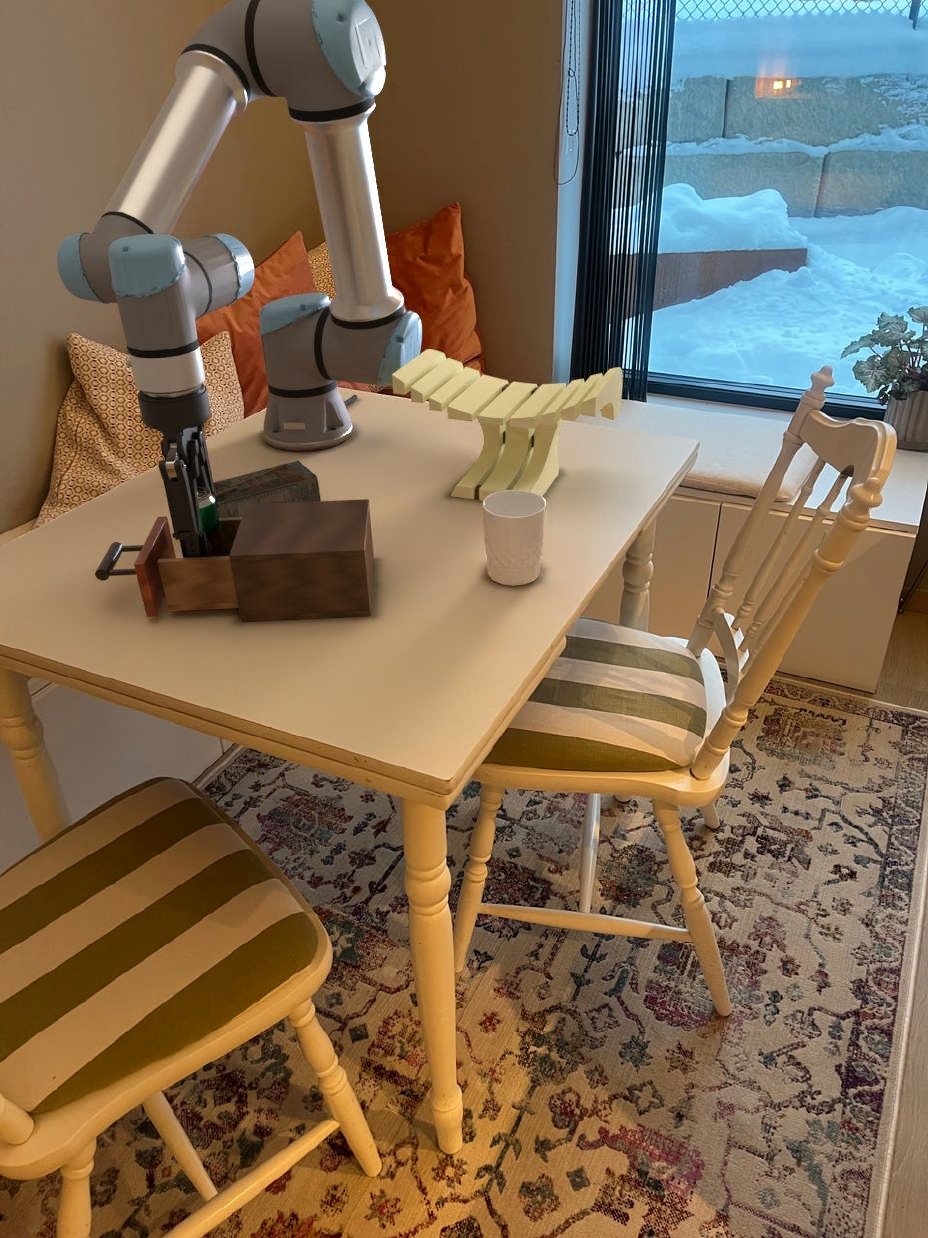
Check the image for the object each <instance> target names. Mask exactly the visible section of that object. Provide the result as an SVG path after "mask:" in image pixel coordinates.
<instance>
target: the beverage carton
mask: <svg viewBox="0 0 928 1238" xmlns="http://www.w3.org/2000/svg"><path fill="white" fill-rule="evenodd" d="M213 483H214V489H215V492H216V494H215V499H216V500H219V502H220V506H219V508H217V510H218V516H219V518H230V517H242V516H243V513H244V510H245V507H246V505H247V504H269V503H293V502H316V501H322V497H321V491H320V485H319V478H318V476H317V474H315V473H314V472H312V470H310V469H309V468H308V467H307V466H305V465H304V464H303V463H302V462H300V460H295V461H292V462H287V463H282V464H279V465H276V466H272V467H267V468H264V469H260V470H257V471H252V472H249V473H245V474H244V473H243V474H241V475H238V476H233V477H230V478H225V479H221V480H217V481H213Z"/></svg>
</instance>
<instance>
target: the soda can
mask: <svg viewBox="0 0 928 1238" xmlns="http://www.w3.org/2000/svg"><path fill="white" fill-rule="evenodd" d="M197 494H198V502H199V510H200V518H201V527H202V531H203V532H205V534H206V539H207V544H208V549H209V555H210V557H217V556H226V554H225V549H224V543H223V538H222V532H221V527H220V521H219V516H218V510H217V505H216V499H215V497H214V496H213V495H212V494H211V491H210V489H209V488H207V487H203V486H197ZM178 541H179V545H180V551H181V555H182V558H185V553H184V549H183V544H182V540H178Z"/></svg>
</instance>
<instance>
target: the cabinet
mask: <svg viewBox="0 0 928 1238" xmlns="http://www.w3.org/2000/svg"><path fill="white" fill-rule="evenodd" d="M370 510H371V509H370V499H368V498H366V499H363V498H362V499H346V500H345V499H344V500H343V499H341V500H321V501H316V502H293V503H269V504H247V505H246V507H245V510H244V513H243V516H242V519H241V522H240V525H239V528H238V531H237V534H236V537H235V540H234V543H233V546H232V549H231V552H230V555H229V558H230V564H231V569H232V575H233V580H234V586H235V591H236V597H237V602H238V608H237V609H238V612H239V616H240V617H239V618H240V622H242V623H244V622H245V623H247V622H265V621H266V622H268V621H289V620H306V619H307V620H313V619H330V618H331V619H333V618H355V617H371V615H372V602H373V601H372V599H373V584H374V569H375V567H374V566H375V555H374V554H375V553H374V545H373V544H374V543H373V533H372V522H371V521H372V520H371V519H372V518H371V511H370Z"/></svg>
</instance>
